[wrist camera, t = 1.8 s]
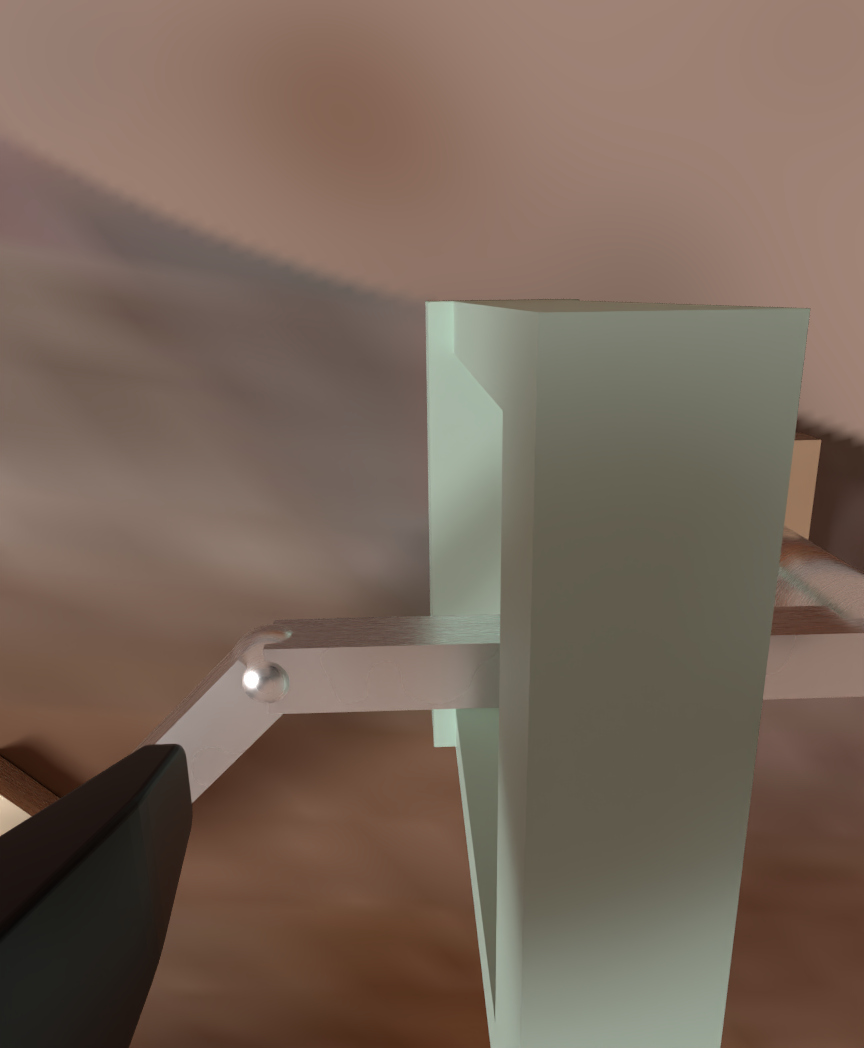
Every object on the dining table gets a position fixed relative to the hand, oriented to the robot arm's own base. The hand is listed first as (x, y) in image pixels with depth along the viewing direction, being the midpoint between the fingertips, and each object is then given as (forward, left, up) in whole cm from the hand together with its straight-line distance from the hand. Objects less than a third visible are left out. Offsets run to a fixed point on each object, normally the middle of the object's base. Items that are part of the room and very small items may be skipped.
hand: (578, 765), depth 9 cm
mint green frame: (0, 0, -10) cm, 10 cm away
